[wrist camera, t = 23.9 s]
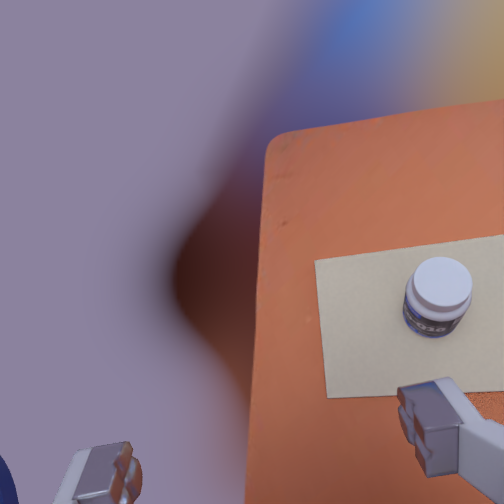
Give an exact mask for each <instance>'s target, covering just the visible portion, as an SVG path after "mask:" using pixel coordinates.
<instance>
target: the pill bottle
mask: <svg viewBox="0 0 504 504" xmlns="http://www.w3.org/2000/svg"><path fill="white" fill-rule="evenodd" d="M472 287H473V282H472V277H471V275H470V273H469V271H468V270H467V268H466V267H465V266H464V265H462V264H461V263H460V262H458V261H456V260H454V259H451V258H447V257H434V258H430V259H427V260H425V261H424V262H422V263H421V264H420V265H419V266H418V267H417V269H416V270H415V272H414V273H413V274H412V275H411V277H410V278H409V280H408V282H407V285H406V291H405V297H404V303H403V317H404V320H405V322H406V324H407V326H408V327H409V328H410V329H411V330H412V331H413V332H415V333H416V334H418V335H420V336H422V337H425V338H430V339H436V338H441V337H445V336H447V335H449V334H450V333H451V332H452V331H453V330H454V329H455V328H456V326H457V325H458V323H459V322H460V320H461V319H462V317H463V316H464V314H465V313H466V311H467V309H468V308H469V306H470V303H471V300H472Z"/></svg>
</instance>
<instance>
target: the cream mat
mask: <svg viewBox="0 0 504 504" xmlns="http://www.w3.org/2000/svg"><path fill="white" fill-rule="evenodd" d="M434 257H447V258H451V259H454V260H456V261H458V262H460V263H461V264H462V265H464V266H465V267H466V268H467V270H468V271H469V273H470V275H471V277H472V282H473V287H472V300H471V303H470V306H469V308H468V309H467V311H466V313H465V314H464V316H463V317H462V319H461V320H460V322H459V323H458V325H457V326H456V328H455V329H454V330H453V331H452V332H451V333H450V334H449V335H447V336H445V337H441V338H436V339H430V338H425V337H422V336H420V335H418V334H416V333H415V332H413V331H412V330H411V329H410V328H409V327H408V326H407V324H406V322H405V320H404V317H403V303H404V297H405V291H406V285H407V282H408V280H409V278H410V277H411V275H412V274H413V273H414V272H415V270H416V269H417V267H418V266H419V265H420V264H421V263H422V262H424V261H425V260H427V259H430V258H434ZM314 262H315V273H316V283H317V294H318V305H319V316H320V326H321V337H322V348H323V359H324V370H325V380H326V391H327V398H328V399H332V398H356V397H380V396H397V388H398V387H400V386H405V385H410V384H415V383H419V382H424V381H429V380H430V381H431V380H434V379H439V378H444V377H450V378H452V379H453V380H454V382H455V383H456V384H457V385H458V387H459V388H460V389H461V390H462V392H463V393H477V392H502V391H504V235H497V236H489V237H482V238H475V239H468V240H460V241H453V242H446V243H438V244H431V245H424V246H416V247H409V248H402V249H395V250H387V251H380V252H373V253H365V254H358V255H351V256H343V257H336V258H329V259H321V260H315V261H314Z"/></svg>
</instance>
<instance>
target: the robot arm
mask: <svg viewBox="0 0 504 504" xmlns="http://www.w3.org/2000/svg"><path fill="white" fill-rule="evenodd" d="M397 398H398V399H399V401H400V403H401V405H400V406H399V408H398V413H399V420H400V423H401V427H402V430H403V432H404V435H405V437H406V439H407V441H408V442H409V443H410V444H412V445H413V446H415V456H416V458H417V460H418V462H419V464H420V466H421V468H422V470H423V472H424V473H425V475H426V477H427V478H430V477H436V476H443V475H449V474H455V473H458V475H459V476H461V477H462V478H463V479H465V480H466V481H467V482H468V483H470V484H471V485H472V486H474V487H475V488H476V489H477V490H479V491H480V492H481V493H483V494H484V495H485V496H486V497H488V498H489V499H490V500H492V501H493V502H494V503H495V504H504V426H503V425H501V424H499V423H497V422H495V421H493V420H492V419H486V420H485V419H484V418H483V417H482V416H481V414H480V413H479V412H478V411H477V409H476V408H475V407H474V405H473V404H472V403H471V402H470V400H469V399H468V398H467V397H466V395H465V394H464V393H463V392H462V390H461V389H460V388H459V387H458V385H457V384H456V383H455V382H454V380H453V379H452V378H450V377H444V378H439V379H434V380H431V381H430V380H429V381H424V382H419V383H415V384H410V385H405V386H400V387H398V388H397ZM132 452H133V448H132V446H131V444H130V442H126V441H125V442H119V443H113V444H107V445H102V446H96V447H92V448H86V449H80V450H78V451H77V452H76V453H75V454H74V456H73V458H72V460H71V462H70V465H69V467H68V469H67V471H66V474H65V476H64V479H63V481H62V483H61V485H60V488H59V490H58V492H57V495H56V497H55V499H54V501H53V504H133V503H134V501H135V500H136V499H137V498H138V496H139V495H140V492H141V487H142V469H141V465H140V463H139V461H138V459H136V458H134V457H133V456H132Z"/></svg>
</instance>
